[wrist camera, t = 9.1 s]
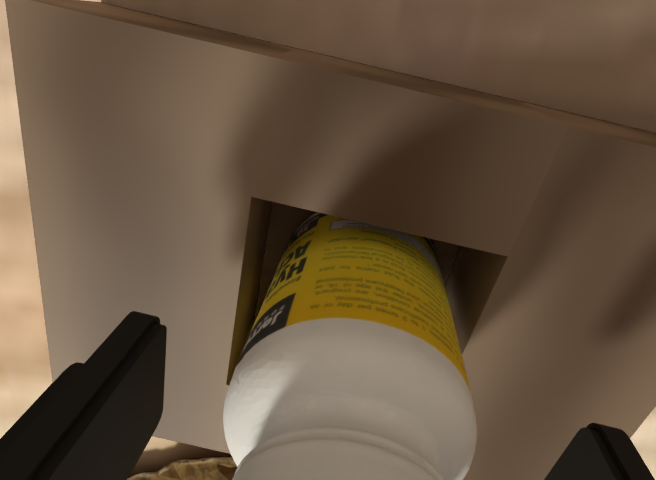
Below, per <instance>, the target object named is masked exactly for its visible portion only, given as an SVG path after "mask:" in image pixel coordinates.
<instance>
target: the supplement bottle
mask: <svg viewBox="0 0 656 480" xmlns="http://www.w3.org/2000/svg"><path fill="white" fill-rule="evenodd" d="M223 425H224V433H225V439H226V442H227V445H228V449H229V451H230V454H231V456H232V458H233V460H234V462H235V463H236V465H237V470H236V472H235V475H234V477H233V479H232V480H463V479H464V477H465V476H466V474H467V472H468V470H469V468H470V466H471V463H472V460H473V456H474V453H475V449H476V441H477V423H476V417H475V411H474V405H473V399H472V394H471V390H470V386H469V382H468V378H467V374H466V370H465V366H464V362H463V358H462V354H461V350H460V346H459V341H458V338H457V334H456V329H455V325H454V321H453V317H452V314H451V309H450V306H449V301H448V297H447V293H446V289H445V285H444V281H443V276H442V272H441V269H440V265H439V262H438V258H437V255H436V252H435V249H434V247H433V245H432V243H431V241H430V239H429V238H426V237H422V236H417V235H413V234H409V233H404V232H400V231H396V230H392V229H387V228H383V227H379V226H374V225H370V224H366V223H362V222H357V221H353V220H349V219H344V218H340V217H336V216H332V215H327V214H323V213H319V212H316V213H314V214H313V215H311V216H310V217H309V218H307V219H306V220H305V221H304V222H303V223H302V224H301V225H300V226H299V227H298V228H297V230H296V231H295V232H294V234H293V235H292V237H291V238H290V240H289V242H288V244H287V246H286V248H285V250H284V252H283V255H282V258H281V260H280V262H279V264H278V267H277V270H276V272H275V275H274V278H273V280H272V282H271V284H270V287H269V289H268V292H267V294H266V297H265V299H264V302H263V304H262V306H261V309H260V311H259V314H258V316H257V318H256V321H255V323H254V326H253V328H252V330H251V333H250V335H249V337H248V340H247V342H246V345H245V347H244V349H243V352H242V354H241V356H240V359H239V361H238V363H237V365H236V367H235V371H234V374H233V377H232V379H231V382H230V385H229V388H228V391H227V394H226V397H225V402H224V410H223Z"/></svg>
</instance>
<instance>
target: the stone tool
mask: <svg viewBox="0 0 656 480" xmlns="http://www.w3.org/2000/svg"><path fill="white" fill-rule="evenodd" d="M236 470H237V465H236V463H235V462H234V460H233V458H232V457H217V458H202V459H199V460H177V461H174V462H171V463H169V464H168V465H166V466H165V467H163V468H162V469H161V470H159V471H157V472H144V473H139V474H136V475H133V476H131V477H130V478H128V479H127V480H232V479H233V477H234V475H235V472H236Z"/></svg>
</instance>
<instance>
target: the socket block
mask: <svg viewBox="0 0 656 480" xmlns="http://www.w3.org/2000/svg"><path fill="white" fill-rule="evenodd" d="M5 3H6V11H7V19H8V27H9V35H10V43H11V51H12V59H13V67H14V75H15V84H16V92H17V100H18V108H19V116H20V124H21V132H22V140H23V148H24V156H25V164H26V172H27V180H28V188H29V196H30V204H31V212H32V220H33V228H34V236H35V244H36V252H37V260H38V269H39V277H40V285H41V293H42V301H43V309H44V317H45V325H46V333H47V341H48V349H49V357H50V365H51V373H52V381H53V382H54V381H55V380H56V379H57V378H58V377H59V376H60V375H61V373H62V372H63V371H64V370H65V369H67V368H68V367H69V366H70V365H72V364H74V363H76V362H78V363H85V362H86V361H87V360H88V359H89V357H90V356H91V355H92V354H93V353H94V352H95V351H96V350H97V348H98V347H99V346H100V345H101V344H102V343H103V342H104V341H105V339H106V338H107V337H108V336H109V335H110V334H111V333H112V332H113V331H114V329H115V328H116V327H117V326H118V325H119V324H120V323H121V322H122V320H123V319H124V318H125V317H126V316H127V315H128V314H129V313H130V312H132V311H136V312H140V313H145V314H149V315H153V316H157V317H159V318H160V324H161V325H165V326H166V327H167V337H166V359H165V381H164V403H163V413H162V416H161V419H160V422H159V424H158V426H157V428H156V429H155V431H154V433H153V435H152V436H155V437H159V438H163V439H168V440H172V441H176V442H181V443H185V444H189V445H194V446H198V447H202V448H207V449H211V450H216V451H220V452H224V453H229V454H230V451H229V449H228V445H227V442H226V439H225V433H224V425H223V410H224V402H225V397H226V394H227V391H228V388H229V385H230V382H231V379H232V377H233V374H234V371H235V367H236V365H237V363H238V361H239V359H240V356H241V354H242V352H243V349H244V347H245V345H246V342H247V340H248V337H249V335H250V333H251V330H252V328H253V326H254V323H255V321H256V318H254V315H255V308H256V302H257V296H258V290H259V284H260V277H261V271H262V265H263V259H264V252H265V246H266V240H267V234H268V227H269V221H270V215H271V209H272V202H276V203H280V204H285V205H289V206H293V207H297V208H302V209H306V210H310V211H314V212H319V213H323V214H327V215H332V216H336V217H340V218H344V219H349V220H353V221H357V222H362V223H366V224H370V225H374V226H379V227H383V228H387V229H392V230H396V231H400V232H404V233H409V234H413V235H417V236H422V237H426V238H430V239H434V240H439V241H443V242H447V243H452V244H456V245H460V246H461V247H460V250H459V252H458V255H457V257H456V260H455V262H454V265H453V267H452V270H451V272H450V274H449V277H448V279H447V282H446V284H445V289H446V293H447V297H448V301H449V306H450V309H451V314H452V317H453V321H454V325H455V329H456V334H457V338H458V341H459V346H460V350H461V354H462V358H463V362H464V366H465V370H466V374H467V378H468V382H469V386H470V390H471V394H472V399H473V405H474V411H475V417H476V423H477V441H476V449H475V453H474V456H473V460H472V463H471V466H470V468H469V470H468V472H467V474H466V476H465V477H464V479H463V480H544V479H545V478H546V476H547V475H548V473H549V472H550V470H551V469H552V468H553V466H554V465H555V463H556V462H557V460H558V459H559V458H560V456H561V455H562V453H563V452H564V450H565V449H566V448H567V446H568V445H569V443H570V442H571V441H572V439H573V438H574V436H575V435H576V433H577V432H578V431H579V430H580V429H581V428H583V427H585V428H586V427H587V426H588V425H589V424H590V423H598V424H602V425H606V426H610V427H614V428H618V429H621V430H623V431H624V432H625V433H626V434H627V435H628V436H629V438H631V436H632V435H633V434H634V433H635V431H636V430H637V429H638V428H639V426H640V425H641V424H642V423H643V421H644V420H645V419H646V418H647V416H648V415H649V414H650V413H651V411H652V410H653V409H654V408H655V406H656V133H653V132H649V131H645V130H640V129H636V128H632V127H628V126H624V125H619V124H615V123H611V122H607V121H602V120H598V119H594V118H590V117H585V116H581V115H577V114H573V113H568V112H564V111H560V110H556V109H551V108H547V107H543V106H539V105H534V104H530V103H526V102H522V101H517V100H513V99H509V98H505V97H500V96H496V95H492V94H488V93H483V92H479V91H475V90H471V89H466V88H462V87H458V86H454V85H449V84H445V83H441V82H437V81H432V80H428V79H424V78H420V77H415V76H411V75H407V74H403V73H398V72H394V71H390V70H386V69H381V68H377V67H373V66H369V65H364V64H360V63H356V62H352V61H347V60H343V59H339V58H335V57H330V56H326V55H322V54H318V53H313V52H309V51H305V50H301V49H296V48H292V47H288V46H284V45H279V44H275V43H271V42H267V41H262V40H258V39H254V38H250V37H245V36H241V35H237V34H233V33H228V32H224V31H220V30H216V29H211V28H207V27H203V26H199V25H195V24H190V23H186V22H182V21H178V20H173V19H169V18H165V17H161V16H156V15H152V14H148V13H144V12H139V11H135V10H131V9H127V8H122V7H118V6H114V5H110V4H105V3H101V2H92V1H80V0H5Z"/></svg>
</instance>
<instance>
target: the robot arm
mask: <svg viewBox="0 0 656 480" xmlns="http://www.w3.org/2000/svg"><path fill="white" fill-rule="evenodd" d="M166 337H167V327H166V326H165V325H161V324H160V318H159V317H157V316H153V315H149V314H145V313H140V312H136V311H132V312H130V313H129V314H128V315H127V316H126V317H125V318H124V319H123V320H122V322H121V323H120V324H119V325H118V326H117V327H116V328H115V329H114V331H113V332H112V333H111V334H110V335H109V336H108V337H107V338H106V339H105V341H104V342H103V343H102V344H101V345H100V346H99V347H98V348H97V350H96V351H95V352H94V353H93V354H92V355H91V356H90V357H89V359H88V360H87V361H86V362H85V363H78V362H76V363H74V364H72V365H70V366H69V367H68V368H67V369H65V370H64V371H63V372H62V373H61V375H60V376H59V377H58V378H57V379H56V380H55V381H54V382H53V383H52V384H51V385H50V386H49V387H48V388H47V390H46V391H45V392H44V393H43V394H42V395H41V396H40V397H39V398H38V399H37V400H36V401H35V402H34V403H33V405H32V406H31V407H30V408H29V409H28V410H27V411H26V412H25V413H24V414H23V415H22V416H21V417H20V418H19V420H18V421H17V422H16V423H15V424H14V425H13V426H12V427H11V428H10V429H9V430H8V431H7V432H6V433H5V435H4V436H3V437H2V438H1V439H0V480H127V479H128V477H129V475H130V473H131V472H132V470H133V468H134V466H135V465H136V463H137V461H138V459H139V458H140V456H141V454H142V452H143V451H144V449H145V447H146V445H147V444H148V442H149V440H150V438H151V436H152V435H153V433H154V431H155V429H156V428H157V426H158V424H159V422H160V419H161V416H162V413H163V403H164V381H165V359H166ZM544 480H655V479H654V478H653V476H652V474H651V473H650V471H649V469H648V468H647V466H646V465H645V463H644V461H643V460H642V458H641V456H640V455H639V453H638V451H637V450H636V448H635V446H634V445H633V443H632V441H631V440H630V438H629V436H628V435H627V434H626V433H625V432H624V431H623V430H621V429H618V428H614V427H610V426H606V425H602V424H598V423H590V424H589V425H588V426H587V427H586V428H585V427H583V428H581V429H580V430H579V431H578V432H577V433H576V435H575V436H574V438H573V439H572V441H571V442H570V443H569V445H568V446H567V448H566V449H565V450H564V452H563V453H562V455H561V456H560V458H559V459H558V460H557V462H556V463H555V465H554V466H553V468H552V469H551V470H550V472H549V473H548V475H547V476H546V478H545V479H544Z"/></svg>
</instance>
